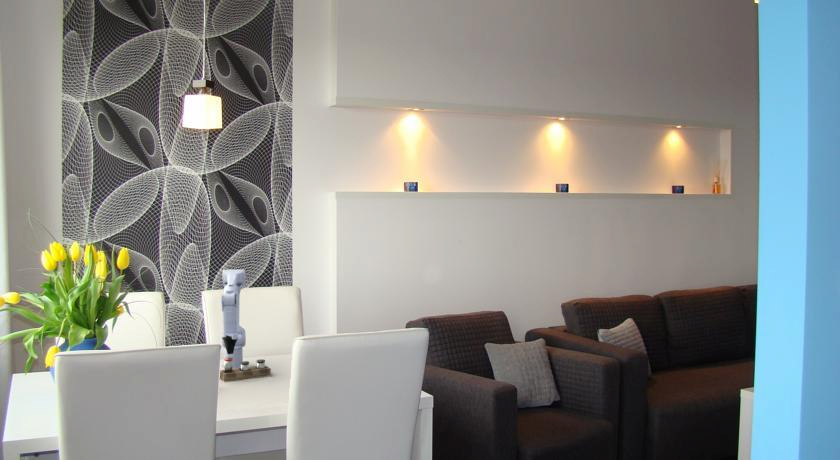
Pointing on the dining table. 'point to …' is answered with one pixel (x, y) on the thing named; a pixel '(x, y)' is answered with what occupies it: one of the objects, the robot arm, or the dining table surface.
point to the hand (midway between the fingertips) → (230, 353)
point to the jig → (244, 373)
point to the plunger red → (228, 364)
